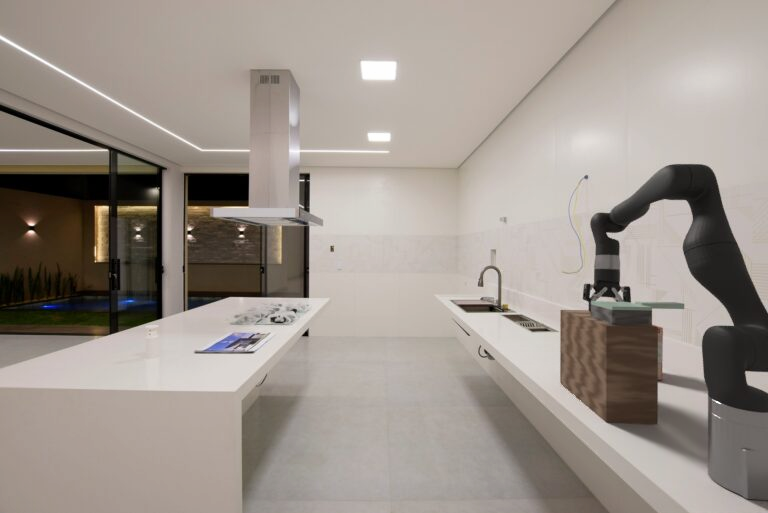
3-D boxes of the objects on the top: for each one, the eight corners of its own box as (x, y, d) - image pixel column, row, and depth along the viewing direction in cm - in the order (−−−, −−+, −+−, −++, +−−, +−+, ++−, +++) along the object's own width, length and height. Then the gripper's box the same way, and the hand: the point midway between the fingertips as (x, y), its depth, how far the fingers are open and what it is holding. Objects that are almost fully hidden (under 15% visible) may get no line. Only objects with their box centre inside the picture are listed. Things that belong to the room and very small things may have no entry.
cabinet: (657, 424, 90) (657, 311, 91) (606, 422, 92) (606, 310, 92) (599, 385, 118) (599, 298, 119) (560, 383, 120) (560, 298, 120)
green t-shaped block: (696, 314, 91) (696, 305, 91) (612, 313, 93) (612, 304, 93) (665, 308, 102) (665, 300, 102) (590, 307, 104) (590, 299, 104)
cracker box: (663, 381, 123) (663, 327, 123) (646, 379, 124) (646, 326, 124) (642, 368, 137) (642, 320, 137) (626, 367, 138) (626, 319, 138)
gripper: (589, 266, 110) (588, 313, 108) (635, 269, 107) (635, 317, 106) (580, 267, 117) (579, 311, 116) (623, 270, 115) (622, 315, 113)
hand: (606, 314), depth 111 cm, fingers open, 8 cm apart
